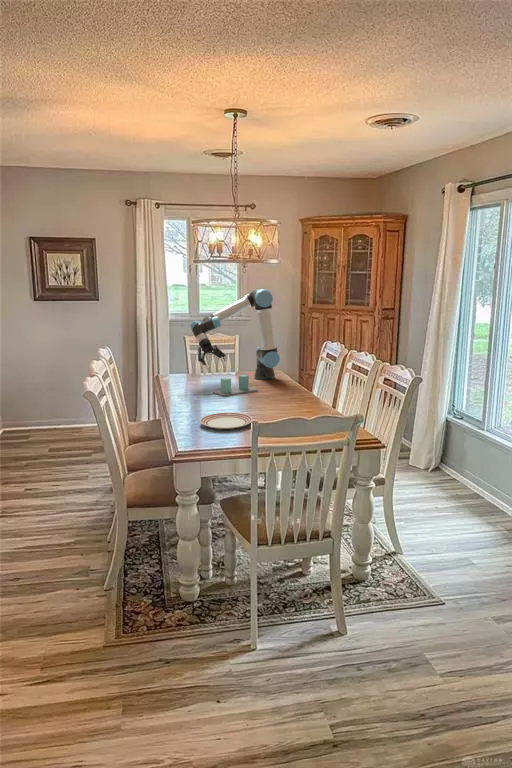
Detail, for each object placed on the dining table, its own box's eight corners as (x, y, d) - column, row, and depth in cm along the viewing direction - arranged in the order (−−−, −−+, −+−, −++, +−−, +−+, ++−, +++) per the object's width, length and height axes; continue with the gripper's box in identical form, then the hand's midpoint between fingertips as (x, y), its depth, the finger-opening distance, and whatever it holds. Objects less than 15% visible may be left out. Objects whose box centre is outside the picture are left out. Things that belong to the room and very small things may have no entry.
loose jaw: (227, 392, 383) (226, 377, 381) (231, 393, 380) (230, 378, 378) (221, 393, 381) (220, 378, 379) (225, 394, 377) (224, 379, 375)
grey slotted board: (244, 387, 397) (244, 386, 397) (257, 391, 387) (257, 389, 386) (212, 393, 382) (212, 391, 382) (224, 397, 371) (224, 395, 371)
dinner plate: (240, 434, 292) (240, 428, 291) (190, 429, 302) (190, 423, 301) (260, 420, 317) (260, 414, 316) (213, 416, 327) (213, 410, 326)
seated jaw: (244, 389, 392) (244, 374, 390) (248, 390, 388) (248, 375, 386) (238, 390, 389) (238, 375, 387) (243, 391, 385) (242, 376, 383)
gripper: (217, 342, 404) (230, 368, 396) (185, 347, 389) (198, 373, 381) (221, 336, 398) (234, 361, 391) (189, 340, 384) (202, 366, 376)
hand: (216, 367), depth 386 cm, fingers open, 13 cm apart
